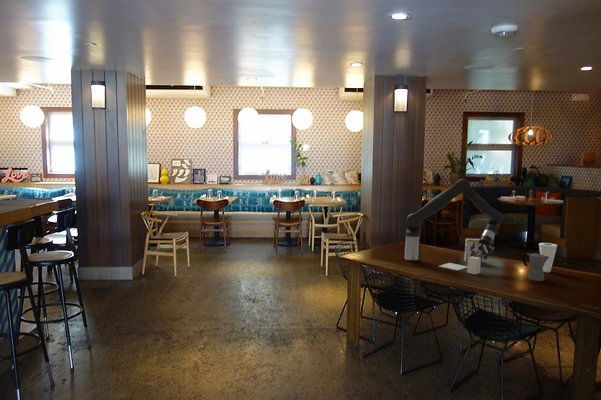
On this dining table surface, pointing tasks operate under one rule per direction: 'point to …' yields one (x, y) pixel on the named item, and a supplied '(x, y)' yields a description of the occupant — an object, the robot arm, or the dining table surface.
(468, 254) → the candy bar box
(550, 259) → the cup
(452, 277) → the dining table surface
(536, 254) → the coffeepot
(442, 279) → the dining table surface
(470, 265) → the beige block
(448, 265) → the mat
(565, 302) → the dining table surface
